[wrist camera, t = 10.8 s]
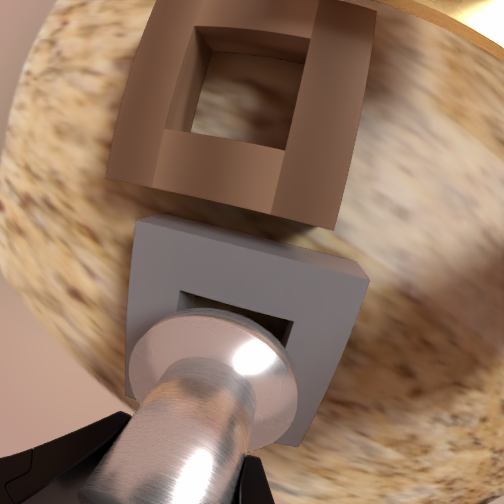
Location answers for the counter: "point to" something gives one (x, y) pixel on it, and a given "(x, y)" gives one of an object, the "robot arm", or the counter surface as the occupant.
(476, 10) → the brass key
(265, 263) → the grey square collar
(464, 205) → the counter surface
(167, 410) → the steel pin
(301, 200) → the walnut socket block
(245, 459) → the robot arm
